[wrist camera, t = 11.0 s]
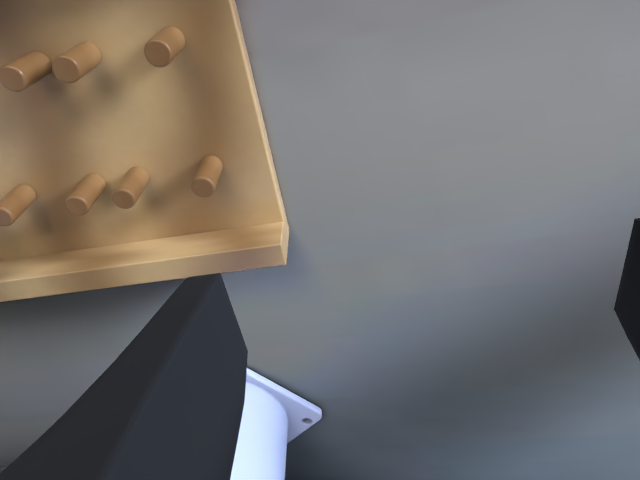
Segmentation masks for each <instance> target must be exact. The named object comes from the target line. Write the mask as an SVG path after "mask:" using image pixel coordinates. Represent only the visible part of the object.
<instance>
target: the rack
mask: <svg viewBox="0 0 640 480" xmlns="http://www.w3.org/2000/svg"><path fill="white" fill-rule="evenodd" d="M288 239H289V226H288V222H287V218H286V214H285V210H284V205H283V201H282V197H281V193H280V188H279V184H278V180H277V176H276V171H275V167H274V163H273V159H272V155H271V150H270V146H269V142H268V138H267V133H266V129H265V125H264V121H263V116H262V112H261V108H260V104H259V100H258V95H257V91H256V87H255V83H254V78H253V74H252V70H251V66H250V62H249V57H248V53H247V49H246V45H245V40H244V36H243V32H242V28H241V23H240V19H239V15H238V11H237V7H236V2H235V0H0V302H4V301H12V300H20V299H28V298H35V297H43V296H51V295H58V294H66V293H74V292H81V291H89V290H97V289H104V288H112V287H120V286H128V285H135V284H143V283H151V282H158V281H166V280H174V279H181V278H188V277H192V276H199V275H207V274H215V273H228V272H235V271H243V270H251V269H258V268H266V267H274V266H281V265H286V262H287V251H288Z"/></svg>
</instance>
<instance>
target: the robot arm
mask: <svg viewBox="0 0 640 480" xmlns="http://www.w3.org/2000/svg"><path fill="white" fill-rule="evenodd" d="M614 310H615V312H616V314H617V316H618V318H619V320H620V323H621V325H622V327H623V329H624V331H625V333H626V335H627V337H628V339H629V341H630V343H631V345H632V346H633V348H634V350H635V352H636V354H637V356H638V358H639V360H640V218H638V219H635V220H634V224H633V229H632V233H631V237H630V242H629V246H628V250H627V255H626V259H625V263H624V268H623V272H622V277H621V281H620V285H619V290H618V294H617V298H616V303H615V307H614ZM247 353H248V351H247V348H246V345H245V342H244V339H243V337H242V334H241V331H240V328H239V325H238V322H237V319H236V317H235V314H234V311H233V308H232V305H231V302H230V300H229V297H228V294H227V291H226V288H225V285H224V282H223V280H222V277H221V274H220V273H215V274H207V275H199V276H192V277H188V278H187V279H186V280H185V281H184V282H183V283H182V284H181V285H180V286H179V287H178V288H177V290H176V291H175V292H174V293H173V294H172V295H171V297H170V298H169V299H168V300H167V301H166V302H165V304H164V305H163V306H162V307H161V308H160V309H159V311H158V312H157V313H156V314H155V315H154V316H153V318H152V319H151V320H150V321H149V322H148V323H147V325H146V326H145V327H144V328H143V329H142V330H141V332H140V333H139V334H138V335H137V336H136V337H135V338H134V340H133V341H132V342H131V343H130V344H129V345H128V346H127V347H126V349H125V350H124V351H123V352H122V353H121V354H120V355H119V357H118V358H117V359H116V360H115V361H114V362H113V363H112V364H111V365H110V366H109V368H108V369H107V370H106V371H105V372H104V373H103V374H102V375H101V376H100V377H99V378H98V379H97V380H96V381H95V382H94V383H93V384H92V385H91V386H90V387H89V389H88V390H87V391H86V392H85V393H84V394H83V395H82V396H81V397H80V398H79V399H78V400H77V401H76V402H75V403H74V404H73V405H72V406H71V407H70V408H69V409H68V411H67V412H66V413H65V414H64V415H63V416H62V417H61V418H60V419H59V420H57V421H56V422H55V423H54V424H53V425H52V426H51V427H50V428H49V429H48V430H47V431H46V432H45V433H44V434H43V435H42V436H41V437H40V438H39V439H38V440H37V441H36V442H35V443H33V444H32V445H31V446H30V447H29V448H28V449H27V450H26V451H25V452H23V453H22V454H21V455H20V456H19V457H18V458H17V459H16V460H15V461H14V462H12V463H11V464H10V465H9V466H8V467H7V468H6V469H5V470H4V471H3V472H1V473H0V480H285V466H286V450H287V443H288V442H290V441H291V440H293V439H294V438H295V437H297V436H298V435H300V434H301V433H302V432H304V431H305V430H306V429H308V428H309V427H311V426H312V425H313V424H315V423H316V422H318V421H319V420H320V419H321V418H322V410H321V409H320V408H319V407H317V406H316V405H314V404H312V403H310V402H308V401H307V400H305V399H303V398H301V397H299V396H297V395H296V394H294V393H292V392H290V391H288V390H286V389H285V388H283V387H281V386H279V385H277V384H275V383H274V382H272V381H270V380H268V379H266V378H265V377H263V376H261V375H259V374H257V373H255V372H254V371H252V370H250V369H248V368H247Z"/></svg>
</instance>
